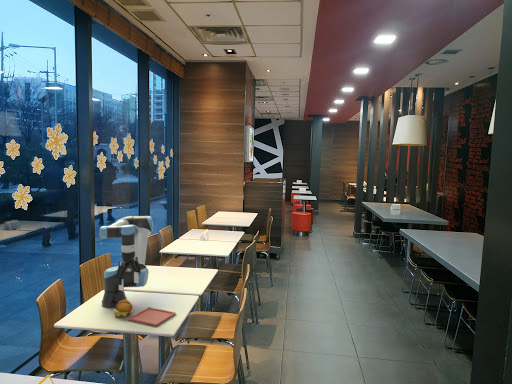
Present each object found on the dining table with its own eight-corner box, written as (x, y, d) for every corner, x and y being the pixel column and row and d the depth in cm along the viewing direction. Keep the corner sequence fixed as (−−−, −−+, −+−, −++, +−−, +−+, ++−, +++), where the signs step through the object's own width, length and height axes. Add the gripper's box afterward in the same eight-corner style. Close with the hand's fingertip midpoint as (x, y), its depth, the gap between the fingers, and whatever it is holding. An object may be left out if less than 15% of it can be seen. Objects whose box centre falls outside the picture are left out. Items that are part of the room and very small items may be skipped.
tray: (128, 320, 211) (128, 318, 211) (149, 309, 228) (148, 307, 228) (156, 326, 204) (156, 324, 203) (175, 314, 220) (175, 312, 220)
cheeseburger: (125, 309, 227) (127, 295, 225) (135, 318, 221) (137, 303, 219) (110, 314, 219) (112, 299, 217) (119, 323, 213) (121, 308, 211)
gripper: (118, 257, 204) (119, 294, 206) (146, 247, 228) (147, 280, 230) (108, 255, 207) (109, 292, 209) (136, 246, 230) (137, 279, 232)
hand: (129, 286), depth 219 cm, fingers open, 13 cm apart
